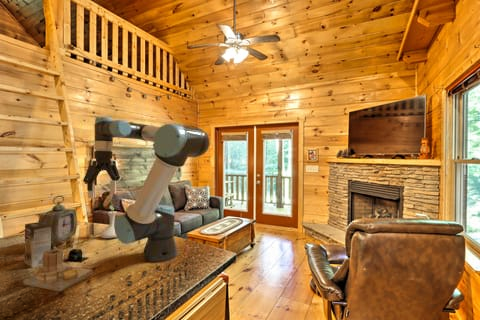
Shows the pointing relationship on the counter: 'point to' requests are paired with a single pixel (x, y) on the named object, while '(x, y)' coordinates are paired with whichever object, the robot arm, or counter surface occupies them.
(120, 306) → the counter surface
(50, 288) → the carrier
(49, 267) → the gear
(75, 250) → the black piece
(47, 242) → the coffee box
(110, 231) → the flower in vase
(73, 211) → the tabletop clock
